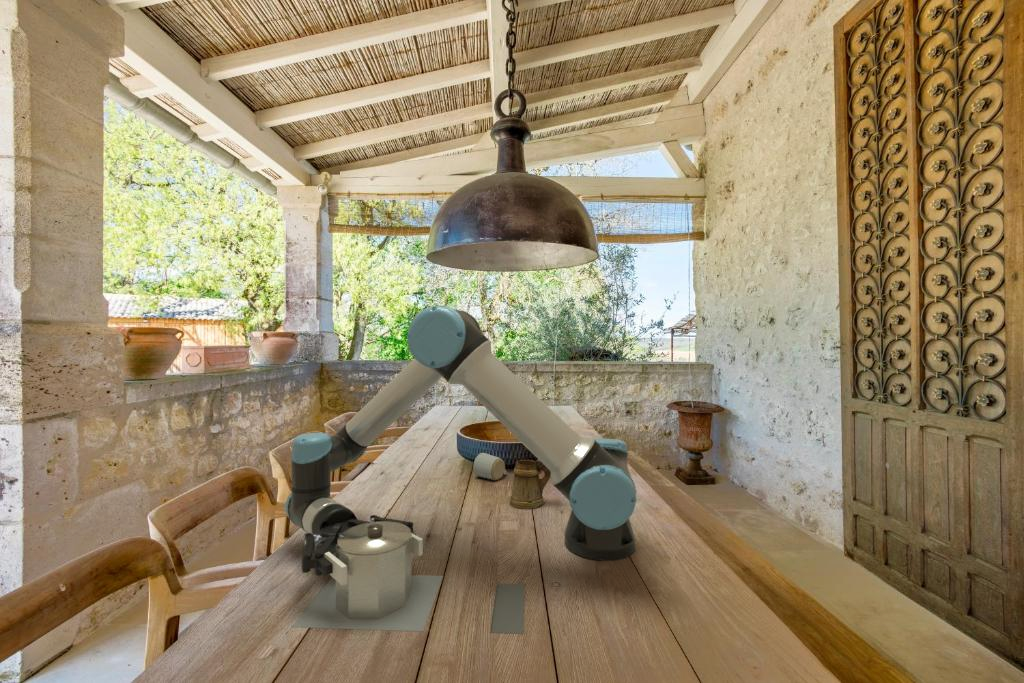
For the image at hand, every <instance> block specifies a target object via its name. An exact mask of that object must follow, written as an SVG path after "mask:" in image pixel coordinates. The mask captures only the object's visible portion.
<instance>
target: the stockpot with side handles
mask: <svg viewBox="0 0 1024 683" xmlns="http://www.w3.org/2000/svg"><path fill="white" fill-rule="evenodd" d="M412 553H413V552H412V533H411V530H410V528H409V527H408V526H406V525H404V524H401V523H397V522H388V521H380V522H370V523H365V524H361V525H357V526H354V527H352V528H350V529H347V530H346V531H344V532H343V533H342V534H340V536H339V537H338V540H337V544H336V553H335V557H336V558H338V559H339V560H340V561H341V562H343V563H344V564H345V565H346V566H347V584H345V585H341V584H340V583H338V582H337V581H336V607H337V608H338V609H339V610H340V611H341V612H342V613H343V614H344V615H345V616H346V617H347V618H348V619H380V618H382V617H384V616H386V615H389V614H391V613H393V612H395V611H397V610H400V609H402V608H404V607H405V605H406V603H407V600H408V598H409V596H410V593H411V575H412V568H413V567H412V563H413V562H412V560H413V559H412Z"/></svg>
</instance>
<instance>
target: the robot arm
mask: <svg viewBox="0 0 1024 683" xmlns="http://www.w3.org/2000/svg"><path fill="white" fill-rule="evenodd" d="M406 338H407V346H408V350H409V352H410V354H411V355H412V357H413V359H412V360H411V361H410V362H409V363H408V364H407V365H406V366H405V367H404V368H403V369H402V370H401V371H400V372H398V374H396V375H395V377H393V379H391V380H390V381H389V382H388V383H387V384H386V385H385V386H384V387H383V388H382V389H381V390H380V391H378V393H377V394H376V395H374V396H373V398H371V399H370V400H369V401H368V402H367V403H366V404H365V405H364V406H363V407H362V408H361V409H360V410H359V411H358V412H357V413H356V414H354V416H352V418H350V419H349V420H348V421H347V422H346V424H345V425H343V426H342V427H341V428H340V429H339V430H338V431H337V432H335V434H332V435H329V434H328V433H325V432H308V433H303V434H299V435H297V436H295V437H294V439H293V440H292V448H291V454H290V459H291V492H290V494H289V495H288V496H287V499H286V501H285V502H284V511H285V513H286V516H287V517H288V518H289V520H290V522H291V523H293V525H295V526H297V527H298V528H300V529H301V530H303V531H304V532H305V534H304V549H303V553H302V556H301V559H302V560H301V572H302V573H303V574H306V573H309V572H310V571H311V570H312V569H314V575H315V576H321V575H325V576H328V575H330V577H331V578H334V579H335V580H336V581H337V582H338V583H340V584H341V585H345V584H347V566H346V565H345V564H344V563H343V562H341V561H340V560H339V559H338V558H336V555H334V554H336V544H337V540H338V537H339V536H340V534H342V533H343V532H344V531H346V530H347V529H350V528H352V527H354V526H357V525H361V524H365V523H370V522H380V521H388V522H397V523H401V524H404V525H406V526H408V527H409V528H410V530H411V533H412V553H413V554H415V555H416V556H418V557H421V556H423V555H424V554H423V548H424V541H423V540H424V539H423V538H422V537H419V536H418V535H417V534H416V533H415V532H414V522H412V521H405V520H399V519H392V518H388V517H387V518H386V517H381V516H378V515H376V514H371V515H370V516H369V520H367V521H365V520H361V519H358V517H357V516H356V515H355V513H354V511H352V510H351V509H350V508H348V507H346V506H344V505H343V504H342V503H341V502H338V501H337V500H335V499H333V498H331V486H332V485H331V483H332V481H331V480H332V478H331V476H332V472H334V471H337V470H338V469H340V468H342V467H345V466H346V465H349V464H351V463H353V462H356V461H358V459H360V458H361V457H362V456H364V454H365V453H366V452H367V448H368V447H369V446H370V445H371V444H372V443H373V442H374V441H376V440H377V439H378V438H379V437H380V436H381V435H382V434H383V433H385V431H386V430H388V429H389V427H391V425H393V424H394V423H395V422H396V421H397V420H398V419H399V418H400V417H401V416H402V415H403V414H405V413H406V412H407V411H408V410H409V409H410V408H411V407H412V406H413V405H414V404H416V402H418V401H419V399H421V398H422V397H423V396H424V395H425V394H426V393H427V392H428V391H430V389H431V388H433V386H435V385H436V383H438V382H439V381H440V380H441V379H442V378H443V379H444V380H445V381H446V382H447V383H448V384H450V385H461V386H463V387H464V389H465V390H467V391H468V392H469V393H470V394H471V395H472V396H473V398H475V399H476V400H477V401H478V402H479V403H480V404H481V405H482V406H483V407H484V408H485V409H486V410H487V411H488V412H489V413H491V415H492V416H493V417H494V418H496V419H497V421H499V422H500V424H502V426H504V427H505V428H506V429H507V430H508V431H509V433H511V434H512V435H513V436H514V437H515V438H516V439H517V440H518V441H519V442H520V443H521V444H523V446H524V447H525V448H526V449H527V450H529V452H530V453H532V455H533V456H535V458H537V460H540V461H541V462H542V463H543V464H544V465H545V466H546V467H547V468H548V469H549V470H550V472H551V476H550V478H551V480H550V481H551V484H552V486H554V487H555V488H556V490H558V491H559V492H560V493H561V494H562V495H563V496H564V497H565V498H566V499H567V500H568V501H569V506H570V508H571V512H570V514H569V518H568V521H567V523H566V526H565V529H564V530H565V531H564V545H565V547H566V548H567V549H568V550H569V551H571V552H572V553H574V554H576V555H578V556H580V557H583V558H586V559H590V560H596V561H597V560H598V561H616V560H617V561H618V560H622V559H625V558H627V557H630V556H632V555H633V554H634V552H635V551H636V537H635V536H636V535H635V533H634V529H633V526H632V523H631V520H630V518H631V517H632V515H633V513H634V511H635V508H636V504H637V503H636V502H637V489H636V488H637V487H636V484H635V482H634V480H633V478H632V476H631V473H630V470H629V468H628V467H629V466H628V456H629V451H628V444H627V442H625V441H624V440H621V439H615V438H614V439H613V438H600V437H585V438H584V437H581V436H580V435H578V433H577V432H575V431H574V430H573V428H571V427H570V426H569V424H567V423H566V422H565V421H564V420H563V419H562V418H561V417H560V416H558V414H557V413H556V412H555V411H553V409H551V408H550V407H549V405H547V404H546V403H545V402H544V401H543V400H542V399H541V398H540V397H539V396H538V395H537V394H535V392H534V391H532V390H531V388H530V387H528V386H527V385H526V384H525V383H524V382H523V381H522V380H521V379H520V378H519V377H518V376H516V374H515V373H513V371H511V370H510V369H509V367H507V366H506V364H504V363H503V361H501V360H500V359H499V358H498V357H497V356H496V355H495V354H494V353H493V351H492V341H491V340H490V339H489V338H488V337H487V336H486V335H485V334H484V333H482V328H481V325H480V323H479V322H478V320H477V319H476V318H475V317H474V316H473V315H472V314H470V313H468V312H466V311H463V310H461V309H455V308H452V307H451V306H448V305H436V306H433V305H432V306H430V307H429V306H428V307H427V308H424V309H422V310H420V312H418V313H417V314H416V315H415V316H414V318H412V320H411V322H410V324H409V327H408V330H407V336H406ZM319 544H320V547H319V549H318V550H317V546H319ZM316 550H317V552H316V553H315V551H316Z"/></svg>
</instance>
